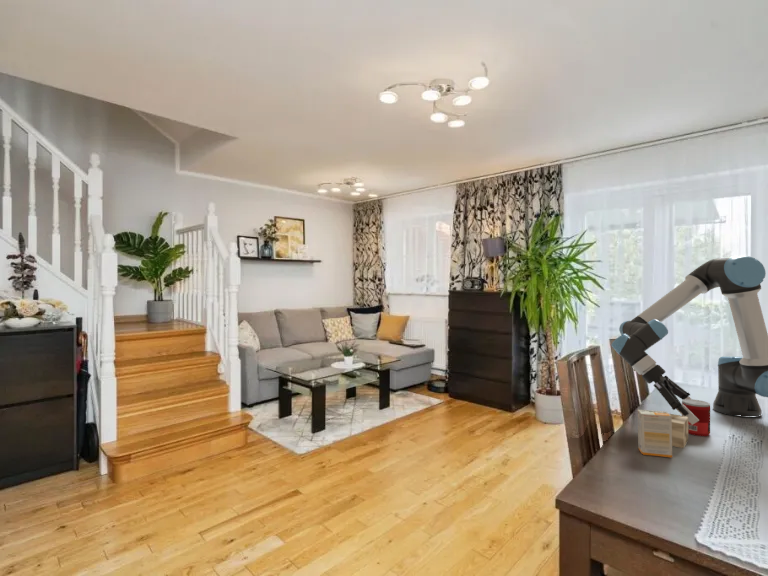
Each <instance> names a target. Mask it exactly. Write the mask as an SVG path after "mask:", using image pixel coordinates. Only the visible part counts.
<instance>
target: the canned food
mask: <svg viewBox="0 0 768 576" xmlns="http://www.w3.org/2000/svg"><path fill="white" fill-rule="evenodd" d="M681 400H682V399H681ZM681 404H683V405H684V406H685V407H686V408H687V409H689V410H690V411H691V412H692V413H693V414H694V415H695V416H696V417H697V418H698V419H699V421H698V422H696V423H694V424H693V425H692V424H691V423H690V422H689V421H688V435H692V436H697V437H709V436H710V434H711V404H710V403H709V402H707V401H704V400H699V399H692V398H691V399H685V400H684V399H683V400H682V401H681ZM681 416H683V415H682V414H681Z"/></svg>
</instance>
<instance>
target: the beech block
mask: <svg viewBox="0 0 768 576" xmlns="http://www.w3.org/2000/svg"><path fill="white" fill-rule="evenodd" d="M669 414H670V415H671V416H672V447H676V448H680V449H685V446H686V445H687V443H688V441H689V434H688V417H686V416H682V415H680V414H675V413H674V414H673V413H669Z"/></svg>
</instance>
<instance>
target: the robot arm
mask: <svg viewBox="0 0 768 576" xmlns="http://www.w3.org/2000/svg"><path fill="white" fill-rule="evenodd" d="M684 278H685V280H684V281H682V282H681V283H679V284H678V285H676V286H675V287H674V288H673V289H671V291H669V292H668V293H666V294H664V296H662V297H660V299H658V300H656V302H654V303H652V305H650V306H649V307H647V308H646V309H645V310H643V311H642V312H641V313H639V314H638V315H637V316H635V317H634V318H633V319H631V320H625V321H623V322H622V323H620V325H619V328H618V329H619V333H620V335H619V336H618V337H617V338H616V339H614V340H612V343H611V347H612V348H613V350H614V351H615V352H616V353H617V354H618V355H619V356H620V357H621V359H623V360H624V361H625V362H626V363H627V364H628V365H629V366H630V367H632V371H634V372H636V373H637V374H638V375H642V376H641V378H642V379H643V380H644V381H645V382H646V383H647V384H652V383H653V382H654V384H653V387H654V388H655V389H656V390H657V391H658V393H659V394H660V395H661V396H662V397H663V398H664V399H665V401H666V402H667V404H669V406H670V407H671V410H673V411H675V410H677V412H679V413H680V414H681V416H682V415H683V416H686V417H688V421H689V422H690V423H691V424H692V425H693V424H694V423H696V422H698V421H699V419H698V418H697V417H696V416H695V415H694V414H693V413H692V412H691V411H690V410H689V409H687V408H686V407H685V406H684V405H683V404H682V402H681V401H680V400H679V399H678V398H680V399H681V400H685V399H692V397H690V396H691V393H689V392H687V390H685V389H684V388H682V387H681V386H680V385H678V384H677V383H676V382H674V381H673V380H672V379H671V378H669V377H668V376H667V375H665V373H666V370H665V369H664V368H663V367H662V366H661V365H660V364H657V362H656V360H655V359H653V358H652V356H650V355H649V354H648V353H647V352H646V351H648V349H650V348H651V347H653V346H654V345H655V344H657V343H658V342H659V341H661V340H663V339H664V338H665V337H666V336H667V335H668V334H669V330H668V328H667V326H666V325H665V324H664V323H663V322H664V321H665V320H666V319H668V318H670V316H672V315H673V314H675V313H676V312H677V311H679V310H680V309H682V308H683V307H684V306H686V305H688V303H690V302H691V301H693V300H694V299H695V298H696V297H699V296H700V295H701V294H707V293H708V292H710V291H711V290H713V289H716V288H719V290H720V292H721V295H723V296H725V297H726V298H727V300H728V303H729V306H730V311H731V315H732V319H733V323H734V327H735V331H736V334H737V339H738V342H739V345H740V346H739V347H740V351H741V355H742V356H724V355H723V356H720V357H719V358H718V360H717V361H718V362H717V367H718V368H717V370H718V371H717V372H718V377H717V378H718V381H717V382H718V383H717V385H718V387H717V388H718V389H717V390H718V391H717V394H716V396H715V398H714V400H713V403H712V408H713V410H714V411H716V412H718V413H721V414H724V415H729V416H733V415H741V416H759V415H761V414H762V407H761V405H760V402H759V400H758V398H757V396H756V395H759V396H761V397H763V398H768V331H767V330H768V329H767V327H766V323H765V319H764V314H763V311H762V307H761V303H760V299H759V295H758V294H759V292H760V291H761V290H762V285H761V284H762V283H763V281H764V279H765V278H766V268H765V266H764V264H763V263H762V262H761V261H760V260H759V259H757V258H755V257H752V256H748V255H733V256H727V257H717V258H716V257H715V258H713V259H710V260H708V261H706V262H704V263H703V264H701V265H699V266H698V267H697V268H695V269H694V270H692V271H691V272H690V273H689V274H687V275H686V276H685V277H684ZM663 375H664V376H663Z"/></svg>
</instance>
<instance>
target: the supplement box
mask: <svg viewBox="0 0 768 576" xmlns="http://www.w3.org/2000/svg"><path fill="white" fill-rule="evenodd" d="M670 414H671V413H669V412H668V411H665V410H664V411H663V410H652V409H637V433H638V435H637V437H638V438H637V442H638V443H637V444H638V445H637V446H638V448H637V449H638V451H639V452H640V453H641V454H643V455H644V456H653V457H665V458H670V459H671V458H673V446H672V416H671V415H670Z"/></svg>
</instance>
